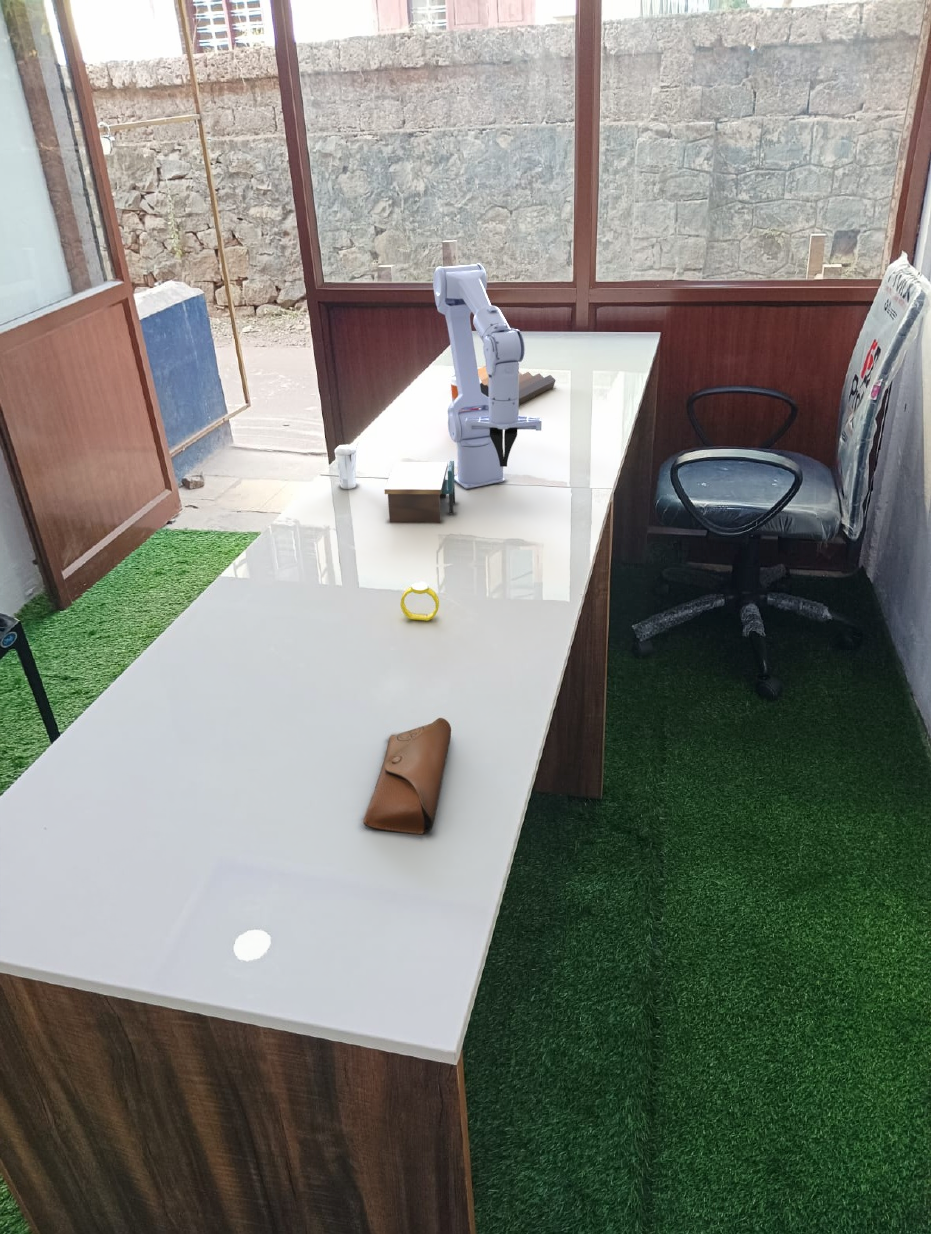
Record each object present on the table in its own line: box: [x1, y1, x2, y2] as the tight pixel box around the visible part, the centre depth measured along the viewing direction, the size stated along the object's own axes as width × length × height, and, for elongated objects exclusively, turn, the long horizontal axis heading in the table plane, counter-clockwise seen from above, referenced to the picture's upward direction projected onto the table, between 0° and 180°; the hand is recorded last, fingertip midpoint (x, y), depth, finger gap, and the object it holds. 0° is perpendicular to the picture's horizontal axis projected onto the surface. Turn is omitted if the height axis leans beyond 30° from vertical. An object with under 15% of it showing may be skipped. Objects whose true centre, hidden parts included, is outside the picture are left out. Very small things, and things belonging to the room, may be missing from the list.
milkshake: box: [334, 442, 360, 490], centre depth 195 cm, size 4×5×10 cm
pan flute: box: [477, 365, 556, 406], centre depth 257 cm, size 25×3×25 cm
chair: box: [442, 460, 456, 515], centre depth 183 cm, size 8×6×9 cm
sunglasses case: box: [362, 717, 452, 835], centre depth 111 cm, size 18×7×7 cm
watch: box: [400, 581, 440, 622], centre depth 145 cm, size 6×3×6 cm, turn 84°
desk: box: [384, 461, 449, 524], centre depth 184 cm, size 11×15×7 cm
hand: (503, 464), depth 180 cm, fingers closed
